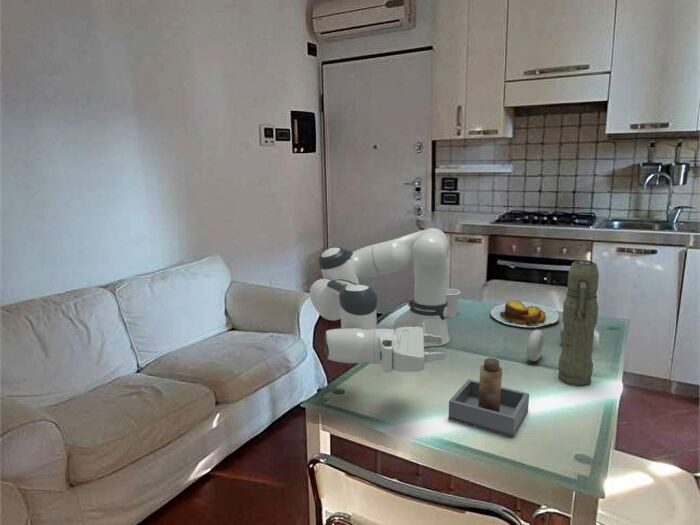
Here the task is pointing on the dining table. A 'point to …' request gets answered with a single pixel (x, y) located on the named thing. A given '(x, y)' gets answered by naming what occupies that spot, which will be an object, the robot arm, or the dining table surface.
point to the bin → (501, 422)
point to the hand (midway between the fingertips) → (442, 347)
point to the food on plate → (524, 314)
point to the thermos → (579, 324)
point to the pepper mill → (490, 385)
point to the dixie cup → (452, 301)
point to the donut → (535, 345)
